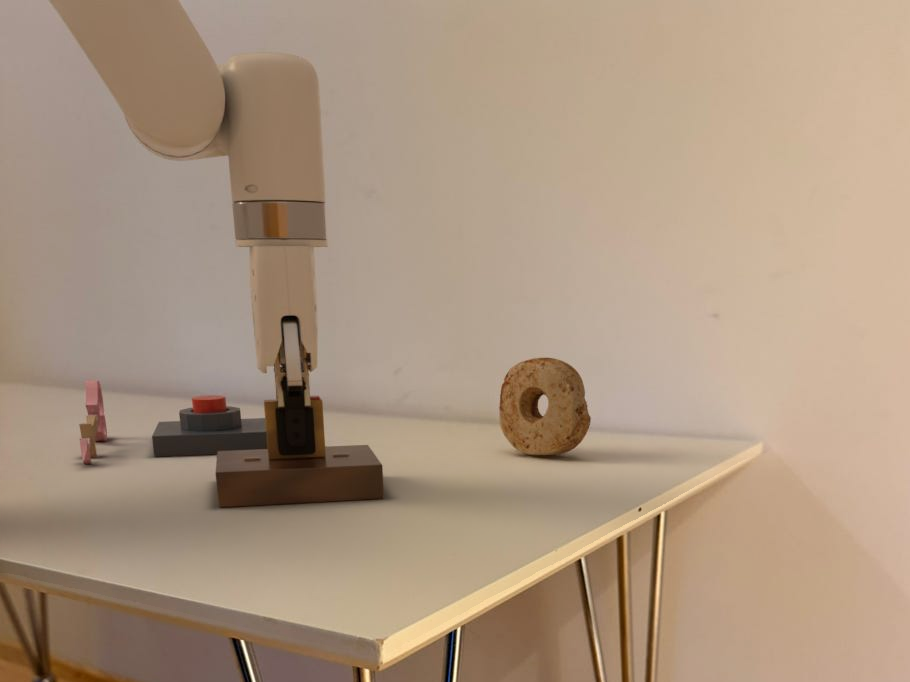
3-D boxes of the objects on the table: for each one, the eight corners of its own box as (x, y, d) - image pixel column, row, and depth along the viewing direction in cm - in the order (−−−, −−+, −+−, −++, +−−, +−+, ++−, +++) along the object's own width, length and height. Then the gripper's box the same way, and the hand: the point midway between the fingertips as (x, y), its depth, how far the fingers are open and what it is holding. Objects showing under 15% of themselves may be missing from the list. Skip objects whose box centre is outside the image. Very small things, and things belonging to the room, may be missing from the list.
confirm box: (154, 457, 104) (149, 418, 103) (160, 441, 113) (156, 405, 112) (269, 452, 107) (266, 414, 105) (266, 436, 116) (264, 402, 114)
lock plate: (218, 507, 83) (215, 470, 82) (220, 483, 92) (217, 449, 91) (383, 498, 86) (382, 462, 85) (369, 475, 95) (368, 442, 94)
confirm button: (192, 416, 107) (191, 400, 106) (194, 411, 110) (192, 395, 109) (226, 415, 107) (225, 399, 107) (227, 410, 111) (225, 394, 110)
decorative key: (82, 496, 99) (97, 432, 116) (95, 495, 100) (108, 432, 116) (71, 431, 96) (87, 375, 113) (84, 431, 96) (99, 375, 113)
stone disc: (491, 452, 106) (491, 356, 102) (511, 447, 109) (512, 354, 105) (572, 464, 100) (575, 362, 96) (591, 458, 103) (595, 359, 99)
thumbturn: (268, 459, 87) (263, 399, 85) (268, 456, 88) (263, 396, 86) (325, 457, 88) (322, 397, 86) (324, 454, 89) (320, 395, 87)
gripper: (234, 230, 87) (252, 439, 94) (234, 225, 73) (255, 471, 80) (319, 230, 89) (331, 435, 95) (335, 225, 75) (347, 466, 81)
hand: (296, 450), depth 88 cm, fingers closed
